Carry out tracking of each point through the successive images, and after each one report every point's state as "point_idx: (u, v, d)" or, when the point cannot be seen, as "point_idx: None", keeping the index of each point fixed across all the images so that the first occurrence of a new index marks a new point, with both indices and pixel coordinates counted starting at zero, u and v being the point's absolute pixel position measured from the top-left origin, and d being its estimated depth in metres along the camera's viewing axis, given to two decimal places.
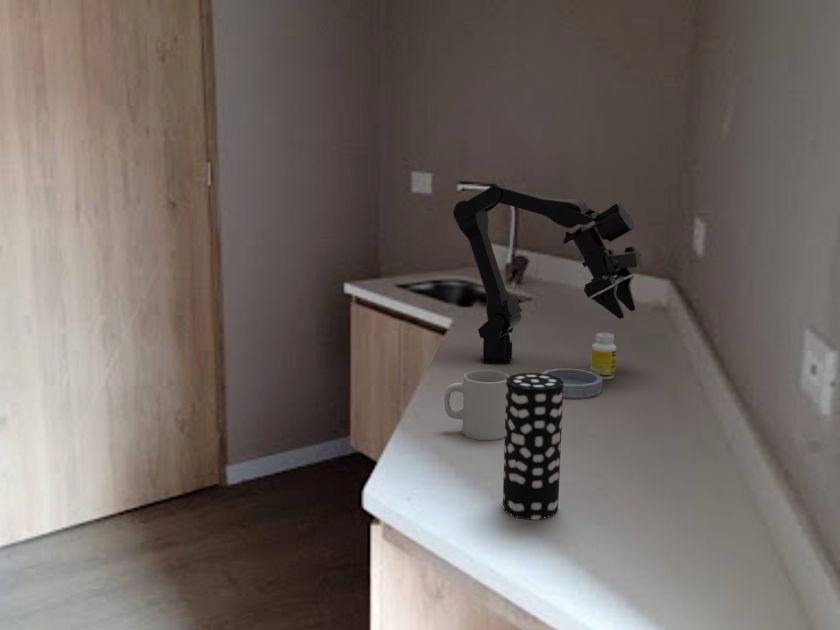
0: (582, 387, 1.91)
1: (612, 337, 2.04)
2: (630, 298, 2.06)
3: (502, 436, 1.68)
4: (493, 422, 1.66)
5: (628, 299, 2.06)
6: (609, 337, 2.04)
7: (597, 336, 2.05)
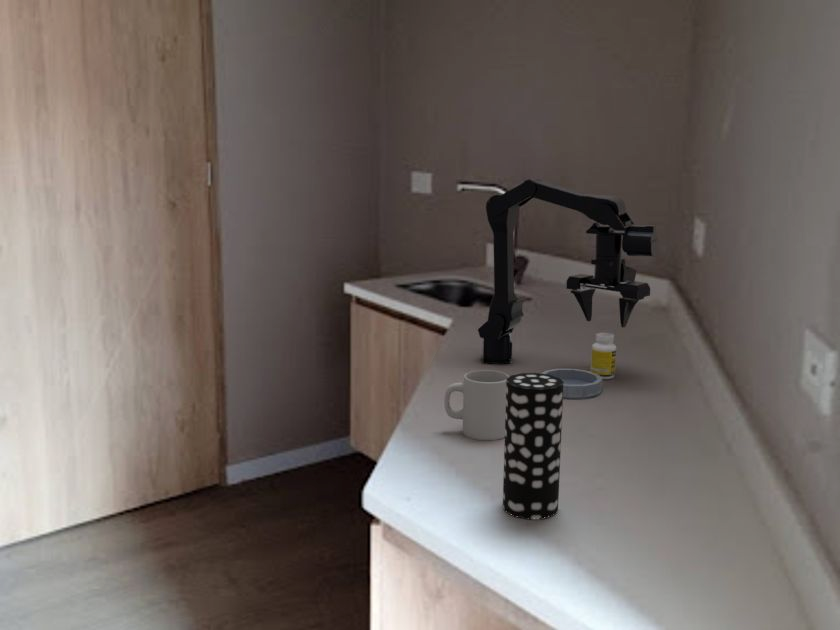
0: (582, 387, 1.91)
1: (612, 337, 2.04)
2: (591, 309, 2.08)
3: (502, 436, 1.68)
4: (493, 422, 1.66)
5: (590, 309, 2.08)
6: (609, 337, 2.04)
7: (597, 336, 2.05)
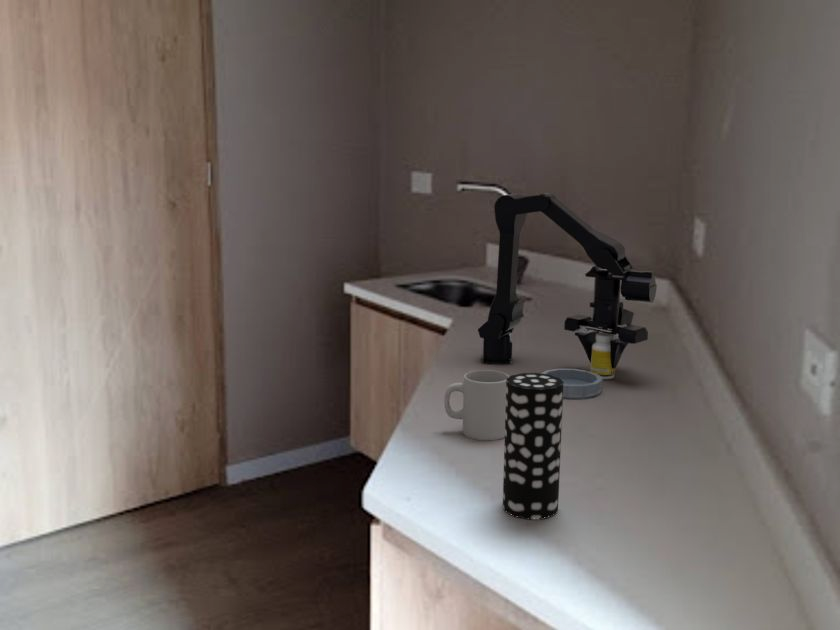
0: (582, 387, 1.91)
1: (612, 337, 2.04)
2: None
3: (502, 436, 1.68)
4: (493, 422, 1.66)
5: None
6: (609, 337, 2.04)
7: (597, 336, 2.05)
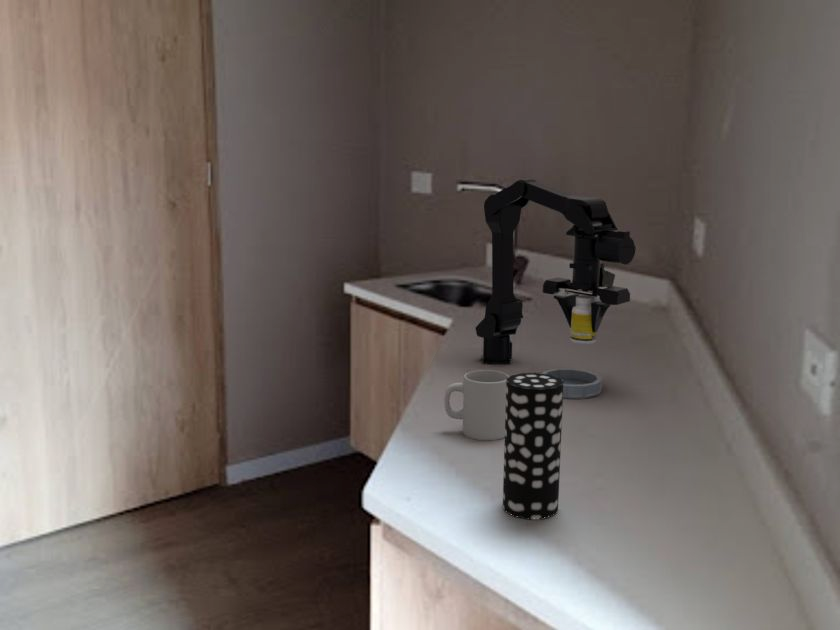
0: (582, 387, 1.91)
1: (593, 299, 1.95)
2: None
3: (502, 436, 1.68)
4: (493, 422, 1.66)
5: None
6: (590, 299, 1.95)
7: (577, 298, 1.96)
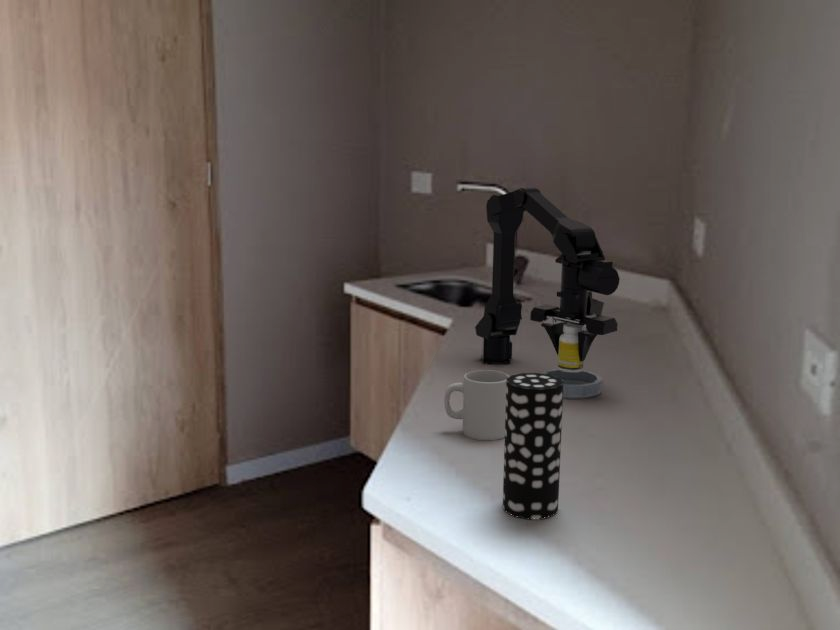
0: (582, 387, 1.91)
1: (580, 328, 1.94)
2: None
3: (502, 436, 1.68)
4: (493, 422, 1.66)
5: None
6: (577, 328, 1.93)
7: (564, 327, 1.94)
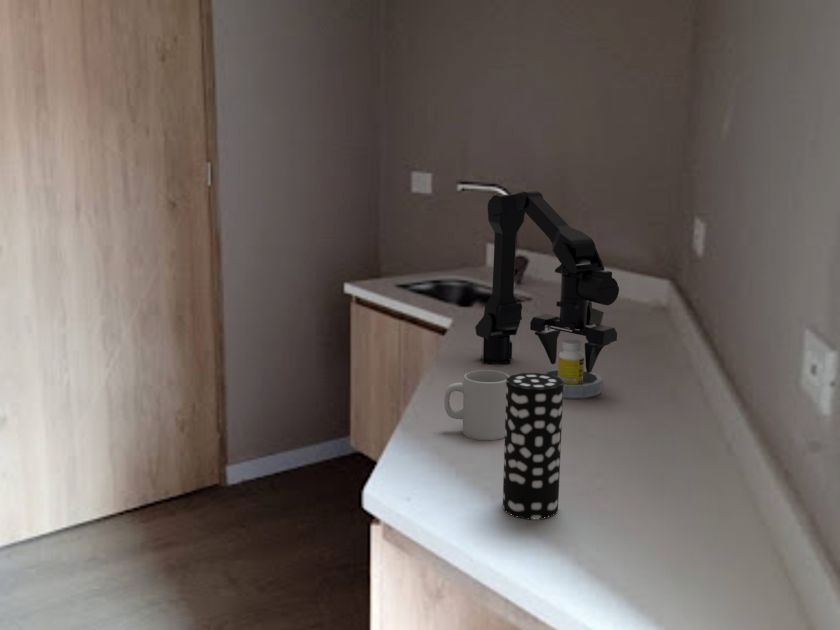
0: (582, 387, 1.91)
1: (579, 344, 1.94)
2: (556, 351, 2.00)
3: (502, 436, 1.68)
4: (493, 422, 1.66)
5: (554, 351, 1.99)
6: (576, 344, 1.94)
7: (564, 343, 1.95)
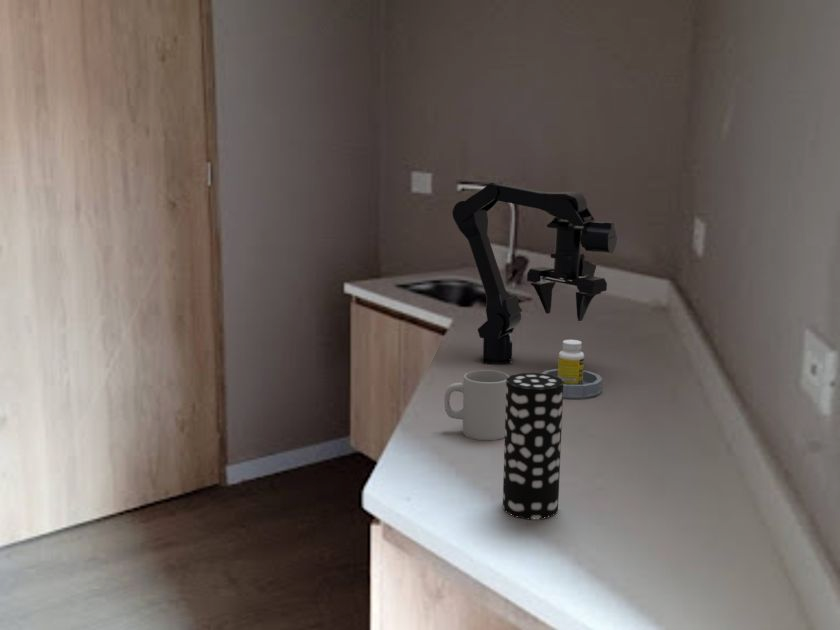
0: (582, 387, 1.91)
1: (579, 344, 1.94)
2: (550, 301, 2.12)
3: (502, 436, 1.68)
4: (493, 422, 1.66)
5: (549, 301, 2.12)
6: (576, 344, 1.94)
7: (564, 343, 1.95)
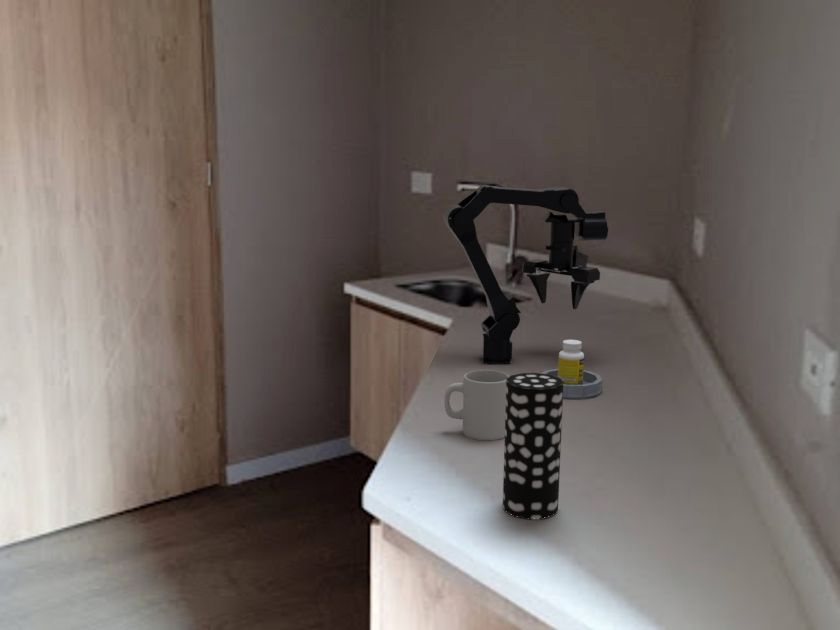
0: (582, 387, 1.91)
1: (579, 344, 1.94)
2: (545, 291, 2.22)
3: (502, 436, 1.68)
4: (493, 422, 1.66)
5: (544, 292, 2.22)
6: (576, 344, 1.94)
7: (564, 343, 1.95)
